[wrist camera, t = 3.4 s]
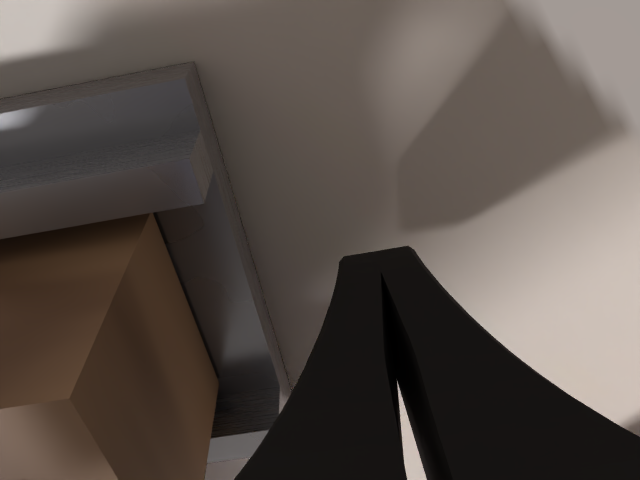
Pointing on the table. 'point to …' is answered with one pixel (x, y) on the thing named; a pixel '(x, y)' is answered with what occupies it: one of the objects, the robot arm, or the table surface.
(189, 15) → the table surface
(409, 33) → the table surface
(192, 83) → the gray metal tray
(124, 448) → the sliding block
